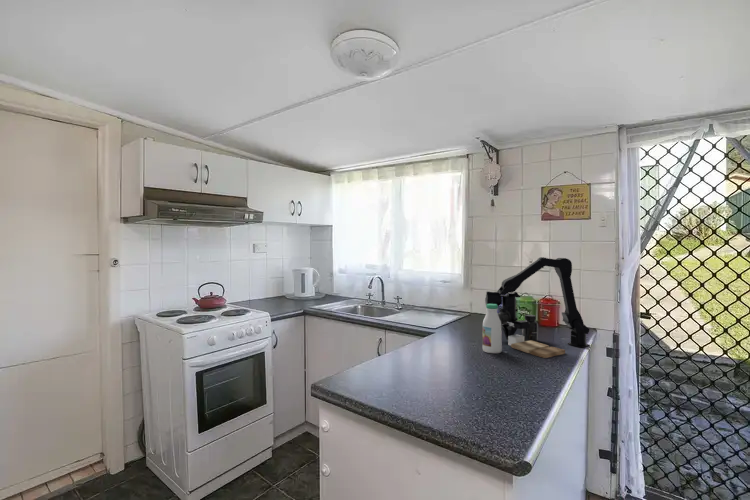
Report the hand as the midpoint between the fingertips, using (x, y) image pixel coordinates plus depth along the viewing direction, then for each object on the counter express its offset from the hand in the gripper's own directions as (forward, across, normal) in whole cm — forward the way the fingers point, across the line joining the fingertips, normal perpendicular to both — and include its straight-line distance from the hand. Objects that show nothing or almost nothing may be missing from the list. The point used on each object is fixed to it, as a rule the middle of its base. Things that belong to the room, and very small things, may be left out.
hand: (508, 340), depth 163 cm
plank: (+1, +11, 0) cm, 11 cm away
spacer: (+1, +4, 0) cm, 4 cm away
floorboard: (+1, +20, 0) cm, 20 cm away
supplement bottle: (+1, +2, +12) cm, 12 cm away
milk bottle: (+1, +6, -17) cm, 18 cm away
